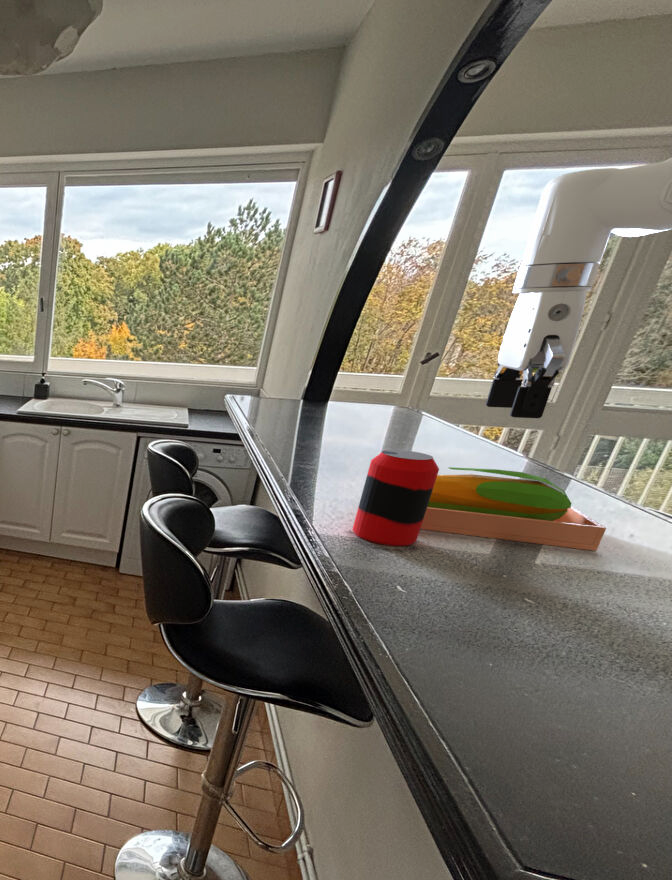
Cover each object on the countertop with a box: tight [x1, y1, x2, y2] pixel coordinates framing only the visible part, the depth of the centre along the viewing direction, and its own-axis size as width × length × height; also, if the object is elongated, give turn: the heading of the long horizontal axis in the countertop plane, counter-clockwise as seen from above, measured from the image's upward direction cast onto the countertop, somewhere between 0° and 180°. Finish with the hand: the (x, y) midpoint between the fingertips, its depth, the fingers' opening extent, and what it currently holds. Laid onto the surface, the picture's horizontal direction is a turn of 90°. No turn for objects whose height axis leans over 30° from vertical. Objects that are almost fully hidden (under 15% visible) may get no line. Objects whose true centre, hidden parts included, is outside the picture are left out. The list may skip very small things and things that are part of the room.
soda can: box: [352, 449, 440, 547], centre depth 82 cm, size 8×8×12 cm
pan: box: [420, 505, 607, 552], centre depth 89 cm, size 24×14×3 cm, turn 65°
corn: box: [427, 466, 572, 521], centre depth 88 cm, size 7×8×20 cm
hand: (511, 412), depth 83 cm, fingers open, 9 cm apart
